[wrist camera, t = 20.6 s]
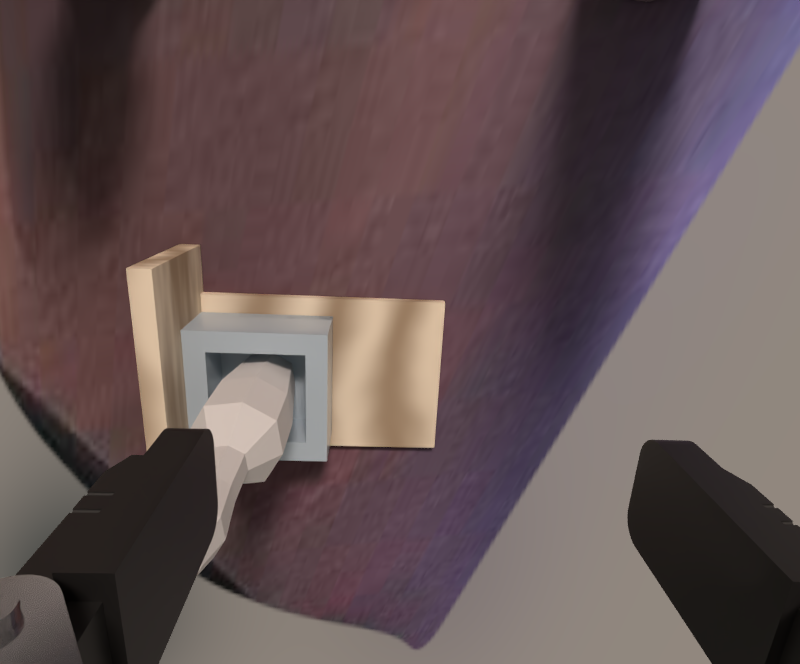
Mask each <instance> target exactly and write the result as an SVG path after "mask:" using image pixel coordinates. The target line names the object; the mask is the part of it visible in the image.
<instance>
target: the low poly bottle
mask: <svg viewBox="0 0 800 664" xmlns="http://www.w3.org/2000/svg"><path fill="white" fill-rule="evenodd" d="M294 393H295V379H294V373H293V367H292V363H290V362H288V361H287V360H285V359H283V358H281V357H280V356H278V355H276V354H255V355H251V356H249V357H248V358H247V359H246V360H245V361H243V362H242V363H241V364H240V365H239V366H238V367H236V368H235V369H234V370H233V371H232V372H231V373H229V374H228V375H227V376H226V377H225V378H223V379H222V380H221V382H220V383H219V385H218V386H217V387H216V389H215V390H214V392H213V393H212V395H211V396H210V397H209V399H208V400H207V402H206V403H205V405H204V406H203V408H202V409H201V411H200V413H199V415H198V416H197V418H196V420H195V421H194V423H193V425H192V426H191V429H210V430H211V432H212V435H213V439H214V452H215V466H216V481H217V495H218V515H217V523H216V528H215V532H214V536H213V539H212V541H211V543H210V546H209V548H208V550H207V553H206V555H205V557H204V560H203V562H202V564H201V567H200V569H199V571H198V574H199V573H200V572H201V571H202V570H203V569H204V568H205V567H206V565H207V564H208V563H209V562H210V561H211V560H212V559H213V558H214V556H215V555H216V553H217V552H218V550H219V549H220V547H221V546H222V544H223V543H224V541H225V540H226V536H227V532H228V528H229V524H230V520H231V517H232V513H233V509H234V505H235V501H236V499H237V496H238V494H239V491H240V489H241V487H242V484H247V483H257V482H265V481H266V479H267V478H268V476H269V474H270V473H271V471H272V470H273V468H274V467H275V465H276V464H277V462H278V461H279V459H280V458H281V456H282V455H283V452H284V449H285V446H286V443H287V440H288V437H289V433H290V430H291V427H292V423H293V408H294ZM198 574H197V575H198Z"/></svg>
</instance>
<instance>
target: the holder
mask: <svg viewBox="0 0 800 664" xmlns="http://www.w3.org/2000/svg"><path fill="white" fill-rule="evenodd" d="M180 331H181V343H182V355H183V367H184V378H185V390H186V402H187V414H188V426H189V428H191V426H192V425H193V423H194V421H195V420H196V418H197V416H198V415H199V413H200V411H201V409H202V408H203V406H204V405H205V403H206V402H207V400H208V399H209V397H210V396H211V395H212V393H213V392H214V390H215V389H216V387H217V386H218V385H219V383H220V382H221V380H222V379H223V378H225V377H226V376H227V375H228V374H229V373H231V372H232V371H233V370H234V369H235V368H236V367H238V366H239V365H240V364H241V363H242V362H243V361H245V360H246V359H247V358H248V357H249V356H251V355H255V354H276V355H278V356H280V357H281V358H283V359H285V360H287V361H288V362H290V363H292V367H293V373H294V379H295V393H294V408H293V423H292V427H291V430H290V433H289V437H288V440H287V443H286V446H285V449H284V452H283V455H282V456H281V458H280V459H279V460H282V461H327V458H328V452H329V446H330V440H331V434H332V367H333V316H306V315H277V314H247V313H217V312H201V313H200V314H198V315H197V316H196V317H195V318H194V319H193V320H192V321H191V322H189V323H188V324H187V325H186V326H185V327H184V328H183V329H181V330H180Z"/></svg>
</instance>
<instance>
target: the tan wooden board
mask: <svg viewBox="0 0 800 664" xmlns="http://www.w3.org/2000/svg"><path fill="white" fill-rule="evenodd" d="M126 273H127V281H128V290H129V299H130V308H131V317H132V325H133V334H134V343H135V352H136V361H137V369H138V378H139V387H140V396H141V405H142V413H143V422H144V431H145V440H146V449H147V450H148V449H149V448H150V447H151V445H152V444H153V443H154V441H155V440H156V439H157V438H158V436H159V435H160V434H161V432H162V431H163V430H164V429H166V428H189V426H188V414H187V402H186V390H185V378H184V367H183V355H182V343H181V331H180V330H181V329H183V328H184V327H185V326H186V325H187V324H188V323H189V322H191V321H192V320H193V319H194V318H195V317H196V316H197V315H198V314H200V313H201V312H217V313H247V314H277V315H306V316H333V367H332V434H331V440H330V446H371V447H418V448H434V443H435V430H436V417H437V404H438V390H439V377H440V364H441V351H442V338H443V324H444V311H445V302H444V301H442V300H414V299H386V298H358V297H330V296H302V295H274V294H246V293H218V292H203V279H202V264H201V250H200V245H194V244H179V245H177V246H175V247H172V248H170V249H168V250H166V251H163V252H161V253H159V254H157V255H155V256H152V257H150V258H148V259H146V260H143V261H141V262H139V263H137V264H134V265H132V266H130V267H128V268H126Z"/></svg>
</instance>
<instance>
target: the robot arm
mask: <svg viewBox="0 0 800 664" xmlns="http://www.w3.org/2000/svg"><path fill="white" fill-rule="evenodd" d="M635 1H654V0H635ZM773 505H774V504H773V503H772V502H770V501H769V500H768V499H767V498H766V497H764V495H762V494H761V493H760V492H759V491H758V490H757V489H756V488H755V487H753V486H752V485H751V484H749V483H747V482H745V481H744V480H742V479H740V478H739V477H737V476H735V475H733V474H732V473H730V472H728V471H726V470H724V469H723V468H721V467H720V466H719V465H718V464H717V463H716V462H715V461H714V460H713V459H712V458H710V457H709V456H708V455H707V454H706V453H705V452H704V451H703V450H701V448H699V447H698V446H697V445H696V444H695V443H693V442H691V441H675V440H648V441H647V442H646V443H644V445H643V446H642V449H641V452H640V456H639V461H638V466H637V470H636V475H635V480H634V484H633V489H632V494H631V498H630V503H629V508H628V528H629V533H630V536H631V539H632V541H633V544H634V546H635V547H636V549H637V550H638V552H639V553H640V555H641V556H642V558H643V559H644V561H645V562H646V564H647V566H648V567H649V569H650V570H651V571H652V573H653V575H654V576H655V578H656V579H657V581H658V582H659V584H660V585H661V587H662V588H663V590H664V591H665V593H666V594H667V596H668V597H669V599H670V600H671V602H672V604H673V605H674V607H675V608H676V610H677V611H678V613H679V614H680V616H681V617H682V619H683V620H684V622H685V623H686V625H687V626H688V628H689V629H690V631H691V632H692V634H693V635H694V637H695V638H696V640H697V642H698V643H699V644H700V646H701V648H702V649H703V650H704V652H705V654H706V655H707V657H708V658H709V660H710V661H711V663H712V664H800V527H799V526H798V525H793V523H792V520H791V519H790V518H789V517H787V516H786V515H785V514H784V513H783V512H782V511H781V510H780V509H778V508H774V506H773ZM217 515H218V495H217V481H216V466H215V452H214V439H213V435H212V432H211V430H210V429H191V428H166V429H164V430H163V431H162V432H161V434H160V435H159V436H158V438H157V439H156V440H155V441H154V443H153V444H152V445H151V447H150V448H149V449H148V450H147V452H146V453H145V454H144V455H131V456H129V457H128V458H126V459H125V460H123V461H121V462H120V463H118V464H116V465H115V466H113V467H112V468H110V469H108V470H107V471H105V472H104V473H103V474H102V476H101V477H100V478H99V479H98V480H97V481H96V483H95V484H94V485H93V486H92V487H91V488H90V489H89V491H88V494H87V496H83V498H82V499H81V500H80V501H79V502H78V503H77V505H76V506H75V507H74V508H73V512H72V513H69V514H68V515H67V516H66V517H65V518H64V520H63V521H62V522H61V523H60V524H59V525H58V527H57V528H56V529H55V530H54V531H53V532H52V533H51V535H50V536H49V537H48V538H47V539H46V540H45V542H44V543H43V544H42V545H41V546H40V547H39V548H38V550H37V551H36V552H35V553H34V554H33V556H32V557H31V558H30V559H29V560H28V561H27V563H26V564H25V565H24V566H23V567H22V568H21V570H20V571H19V572H18V573H17V574H16V575H15V576H9V577H5V578H0V664H159V661H160V659H161V657H162V654H163V652H164V650H165V648H166V645H167V643H168V641H169V638H170V636H171V634H172V631H173V629H174V626H175V624H176V622H177V620H178V617H179V615H180V613H181V611H182V608H183V606H184V603H185V601H186V599H187V597H188V594H189V592H190V590H191V587H192V585H193V583H194V580H195V578H196V576H197V574H198V571H199V569H200V567H201V564H202V562H203V560H204V557H205V555H206V553H207V550H208V548H209V546H210V543H211V541H212V539H213V536H214V532H215V528H216V523H217Z"/></svg>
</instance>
